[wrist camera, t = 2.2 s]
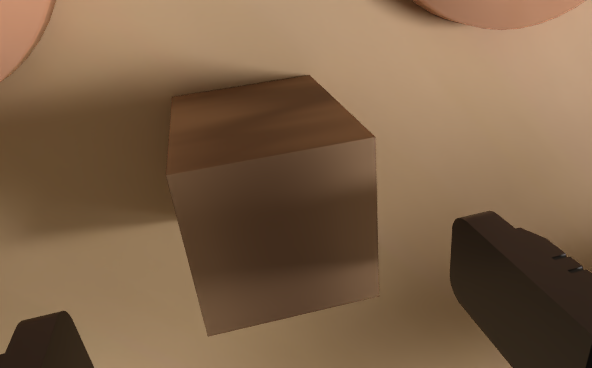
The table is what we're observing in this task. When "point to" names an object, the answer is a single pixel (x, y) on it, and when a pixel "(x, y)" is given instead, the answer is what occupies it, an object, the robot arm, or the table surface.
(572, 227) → the table surface
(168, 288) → the table surface
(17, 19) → the dish left
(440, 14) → the dish right
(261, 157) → the walnut block
